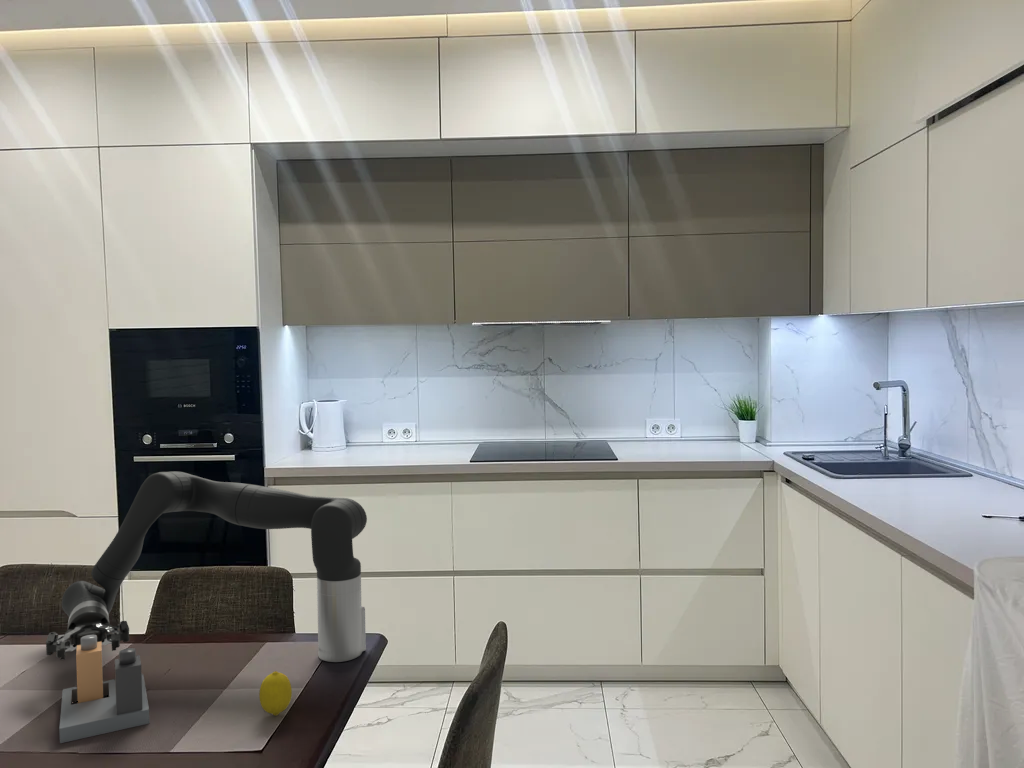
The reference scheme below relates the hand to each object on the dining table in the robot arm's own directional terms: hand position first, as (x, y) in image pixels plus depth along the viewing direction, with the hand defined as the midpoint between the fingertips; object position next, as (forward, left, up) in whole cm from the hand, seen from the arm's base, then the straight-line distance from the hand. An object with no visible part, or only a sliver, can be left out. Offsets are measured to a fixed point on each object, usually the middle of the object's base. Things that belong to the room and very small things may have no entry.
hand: (88, 649), depth 143 cm
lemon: (-16, +36, -9) cm, 40 cm away
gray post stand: (+2, +10, -9) cm, 13 cm away
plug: (+2, +5, -9) cm, 10 cm away
